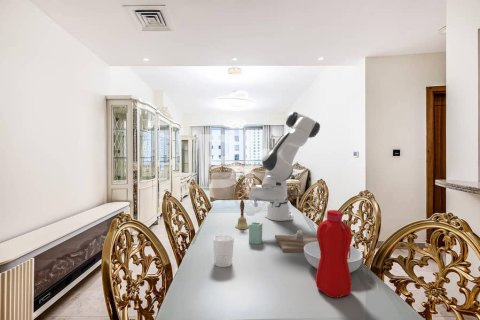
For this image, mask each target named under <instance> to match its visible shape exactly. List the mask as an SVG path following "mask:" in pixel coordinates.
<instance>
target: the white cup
mask: <svg viewBox="0 0 480 320" xmlns="http://www.w3.org/2000/svg"><path fill="white" fill-rule="evenodd" d="M234 238H235V237H234V236H232V235H229V234H228V235H227V234H218V235H215V236H214V237H213V238H212V241H213V257H214V261H213V262H214V265H215V266H217V267H219V268H227V267H230V266H232V265H233V257H234V256H233V255H234V240H235V239H234Z"/></svg>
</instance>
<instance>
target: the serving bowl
mask: <svg viewBox="0 0 480 320" xmlns="http://www.w3.org/2000/svg"><path fill="white" fill-rule="evenodd" d="M303 253H304V257H305V259H306V261H307V262H308V264H310V265H311V266H312V267H314V268H315V269H318V265H319V261H320V248H319V243H318V241H317V242H311V243H308V244H306V245H305V246H304V252H303ZM348 258H349V253H348ZM363 260H364V255H363V252H362V251H361V250H359V249H358V248H356V247H354V246H352V245H350V258H349V259H347V261H348V266H349V271H350V274H351V273H354V272H355V271H357V270H358V269H359V267H360V266H361V265H362V263H363Z"/></svg>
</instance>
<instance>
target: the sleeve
mask: <svg viewBox="0 0 480 320" xmlns="http://www.w3.org/2000/svg"><path fill="white" fill-rule="evenodd" d="M248 226H249V228H248V243H249V244H253V245H260V244H261V243H263V222H257V221H252V222H250V223H249V224H248Z"/></svg>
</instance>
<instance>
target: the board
mask: <svg viewBox="0 0 480 320" xmlns="http://www.w3.org/2000/svg"><path fill="white" fill-rule="evenodd" d="M274 238H275V241H276V243H277V244H278V246H279V247H280V250H281V251H282V253H295V252H296V253H301V252H302V253H304V246H305V245H306V244H308V243H311V242H317V241H318V239H317V236H316V235H315V234H303V242H297V241H296V234H274Z"/></svg>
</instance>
